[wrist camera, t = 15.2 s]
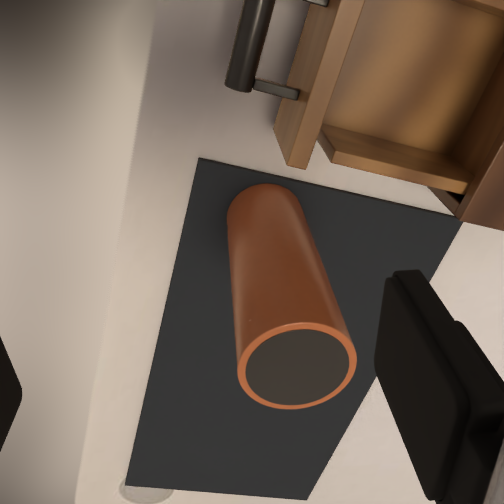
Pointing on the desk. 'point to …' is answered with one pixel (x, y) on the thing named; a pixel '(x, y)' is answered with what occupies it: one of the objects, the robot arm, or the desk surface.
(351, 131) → the drawer
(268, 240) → the pen holder
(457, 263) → the desk surface
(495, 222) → the cabinet
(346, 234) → the desk mat
